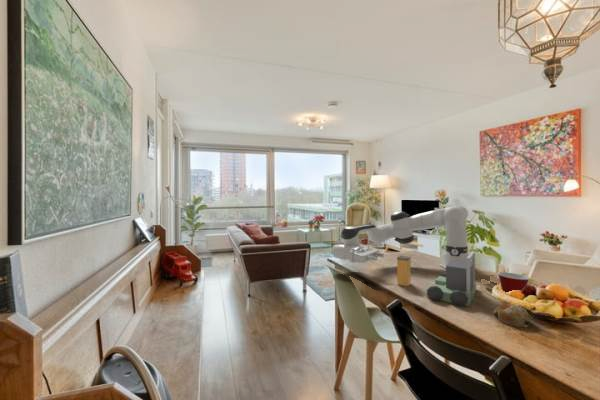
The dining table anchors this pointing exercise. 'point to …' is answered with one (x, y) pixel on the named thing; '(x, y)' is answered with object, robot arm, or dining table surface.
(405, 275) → the orange tall cylinder
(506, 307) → the grey brown rounded lump
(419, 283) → the dining table surface
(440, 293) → the green wheeled cart
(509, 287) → the plastic cup
